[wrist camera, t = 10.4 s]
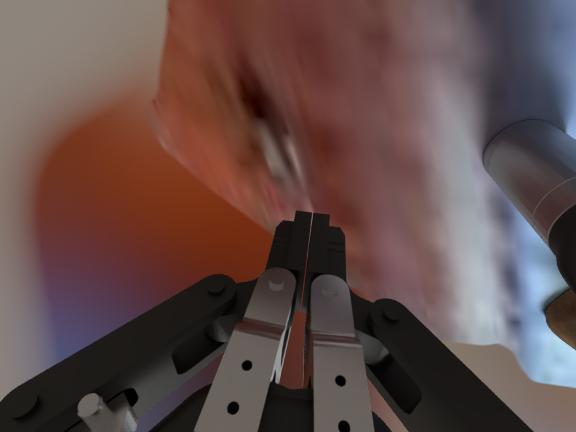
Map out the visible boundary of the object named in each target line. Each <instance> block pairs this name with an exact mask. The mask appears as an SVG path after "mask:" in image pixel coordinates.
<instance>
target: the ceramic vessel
mask: <svg viewBox="0 0 576 432" xmlns="http://www.w3.org/2000/svg"><path fill="white" fill-rule="evenodd" d="M545 316H546V323H547V325H548V327H549V328H550V329H551V330H552V332H553V333H554V334H555V335H556V336H558V337H559V338H560V339H561V340H562V341H564V342H565V343H566V344H568V345H569V346H571V347H572V348H573V349H575V350H576V295H575V294H574V292H573V291H572V289H570V290H568V291H567V292H565V293H564V294H563V295H561V296H560V297H558V298H557V299H556V300H555V301H553V302H552V304H551V305H550V306H549V307H548V308H547V309H546V313H545Z"/></svg>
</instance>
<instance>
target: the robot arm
mask: <svg viewBox="0 0 576 432" xmlns="http://www.w3.org/2000/svg"><path fill="white" fill-rule="evenodd" d="M483 163H484V167H485V169H486V171H487V173H488V174H489V175H490V176H491V177H492V179H493V180H494V181H495V182H496V184H497V185H498V186H499V187H500V189H501V190H502V191H503V192H504V194H505V195H506V196H507V197H508V198H509V200H510V201H511V202H512V203H513V205H514V206H515V207H516V208H517V209H518V211H519V212H520V213H521V214H522V216H523V217H524V218H525V219H526V221H527V222H528V223H529V224H530V225H531V227H532V228H533V229H534V230H535V232H536V233H537V234H538V235H539V236H540V237H541V239H542V240H543V241H544V242H545V244H546V245H547V246H548V247H549V248H550V250H551V251H552V252H553V253H554V255H555V256H556V261H557V266H558V269H559V271H560V273H561V275H562V277H563V278H564V279H565V281H566V282H567V284H568V285H569V287H570V288H571V289H572V291H573V292H574V294H575V295H576V140H575V139H574V138H572V137H571V136H569V135H568V134H566V133H564V132H563V131H561V130H560V129H558V128H556V127H555V126H553V125H552V124H550V123H548V122H545V121H543V120H525V121H521V122H518V123H515V124H513V125H511V126H509V127H507V128H505V129H504V130H502V131H501V132H500V133H498V134H497V135H496V136H495V137H494V138H493V139H492V140H491V142H490V143H489V145H488V146H487V148H486V150H485V153H484V157H483ZM311 217H312V213H311V212H303V211H296V214H295V219H294V222H293V221H285V220H283V221H282V222H281V223H280V224H279V225H278V226H277V227H276V231H275V235H274V239H273V243H272V246H271V250H270V254H269V258H268V262H267V265H266V269H265V271H264V272H262V274H261V275H260V276H259V277H258V278H257V279H254V280H252V281H248V282H241V283H235V281H234V280H233V279H232V278H230V277H229V276H227V275H223V274H214V275H211V276H208V277H206V278H204V279H202V280H200V281H199V282H197V283H195V284H194V285H192V286H191V287H189V288H187V289H185V290H183V291H182V292H180V293H178V294H176V295H175V296H173V297H171V298H169V299H168V300H166V301H165V302H163V303H161V304H159V305H157V306H156V307H154V308H152V309H151V310H149V311H147V312H146V313H144V314H142V315H140V316H138V317H137V318H135V319H133V320H132V321H130V322H128V323H126V324H125V325H123V326H121V327H120V328H118V329H116V330H114V331H113V332H111V333H109V334H107V335H106V336H104V337H103V338H101V339H99V340H97V341H95V342H94V343H92V344H90V345H89V346H87V347H85V348H83V349H82V350H80V351H78V352H76V353H75V354H73V355H71V356H70V357H68V358H66V359H64V360H63V361H61V362H60V363H58V364H56V365H54V366H52V367H51V368H49V369H47V370H45V371H44V372H42V373H40V374H39V375H37V376H35V377H33V378H32V379H30V380H28V381H27V382H25V383H23V384H21V385H20V386H18V387H17V388H15V389H14V390H12V391H11V392H10V393H9V394H7V395H6V396H5V397H4V398H3V400H2V401H1V402H0V432H135V431H136V427H137V419H138V418H139V417H140V416H142V415H143V414H144V413H146V412H147V411H148V410H150V409H151V408H152V407H153V406H155V405H156V404H157V403H159V402H160V401H161V400H162V399H164V398H165V397H166V396H167V395H169V394H170V393H171V392H173V391H174V390H175V389H177V388H178V387H179V386H180V385H182V384H183V383H184V382H186V381H187V380H188V379H189V378H191V377H192V376H193V375H195V374H196V373H197V372H198V371H200V370H201V369H202V368H204V367H205V366H206V365H208V364H209V363H210V362H211V361H212V360H214V359H215V358H217V357H218V356H219V355H220V354H222V353H223V352H224V351H225V353H224V356H223V358H222V361H221V363H220V366H219V368H218V371H217V373H216V376H215V378H214V381H213V383H211V384H209V385H206V386H205V387H203V388H201V389H199V390H198V391H196V392H195V393H193V394H192V395H190V396H189V397H188V398H187V399H186V400H184V401H183V402H182V403H181V404H180V405H179V406H178V407H176V408H175V409H174V410H173V411H172V412H171V413H170V414H169V415H167V416H166V417H165V418H164V419H163V420H161V421H160V422H159V423H158V424H157V425H156V426H154V427H153V428H152V429H151V430H150V431H149V432H392V431H391V430H390V429H389V427H388V426H387V425H386V424H385V423H384V422H383V421H382V419H381V418H380V417H378V416H377V415H376V414H375V413H374V412H373V411H371V404H370V397H369V390H368V384H367V377H368V379H369V380H370V381H371V383H372V384H373V385H374V386H375V388H376V389H377V390H378V392H379V393H380V394H381V396H382V397H383V398H384V400H385V401H386V402H387V404H388V405H389V406H390V408H391V409H392V410H393V412H394V413H395V414H396V416H397V417H398V418H399V419H400V421H401V422H402V423H403V425H404V426H405V427H406V428H407V430H408V431H409V432H533V431H532V430H531V429H530V428H529V427H528V426H527V425H526V424H525V423H524V422H523V421H522V420H521V419H520V418H519V417H518V416H517V415H516V414H515V413H514V412H513V411H512V410H511V409H510V408H509V407H508V406H507V405H505V403H504V402H503V401H501V400H500V399H499V398H498V397H497V396H496V395H495V394H494V393H493V392H492V391H491V390H490V389H489V388H488V387H487V386H486V385H485V384H484V383H483V382H482V381H481V380H480V379H479V378H478V377H477V376H476V375H475V374H474V373H473V372H472V371H471V370H470V369H469V368H468V367H466V366H465V364H463V363H462V362H461V361H460V360H459V359H458V358H457V357H456V356H455V355H454V354H453V353H452V352H451V351H450V350H449V349H448V348H447V347H446V346H445V345H444V344H443V343H442V342H441V341H440V340H439V339H438V338H437V337H436V336H435V335H434V334H433V333H432V332H431V331H430V330H429V329H428V328H426V327H425V326H424V325H423V324H422V323H421V322H420V321H419V320H418V319H417V318H416V317H415V316H414V315H413V314H412V313H411V312H410V311H409V310H408V309H407V308H406V307H405V306H404V305H402V304H401V303H399V302H397V301H395V300H392V299H386V298H384V299H379V300H377V301H375V302H374V303H372V302H370V301H367V300H365V299H363V298H361V297H359V296H357V295H356V294H354V293H353V292H352V291H351V289H350V288H349V286H348V284H347V281H346V254H345V235H344V233H343V232H342V230H341V228H340V227H333V226H329V218H330V215H328V214H320V213H313V220H312V227H311V235H310V242H309V234H310V226H311ZM308 242H309V250H308ZM307 251H308V259H307ZM306 259H307V268H306ZM305 268H306V276H305V286H304V294H303V302H302V311H303V312H306V322H305V329H304V373H303V375H304V376H303V388H302V389H288V388H286V387H284V386H282V385H279V380H280V375H281V370H282V366H283V361H284V357H285V352H286V348H287V344H288V339H289V335H290V330H291V326H292V324H293V320H294V313H295V310H296V311H300V305H301V298H302V291H303V283H304V275H305ZM366 376H367V377H366Z"/></svg>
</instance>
